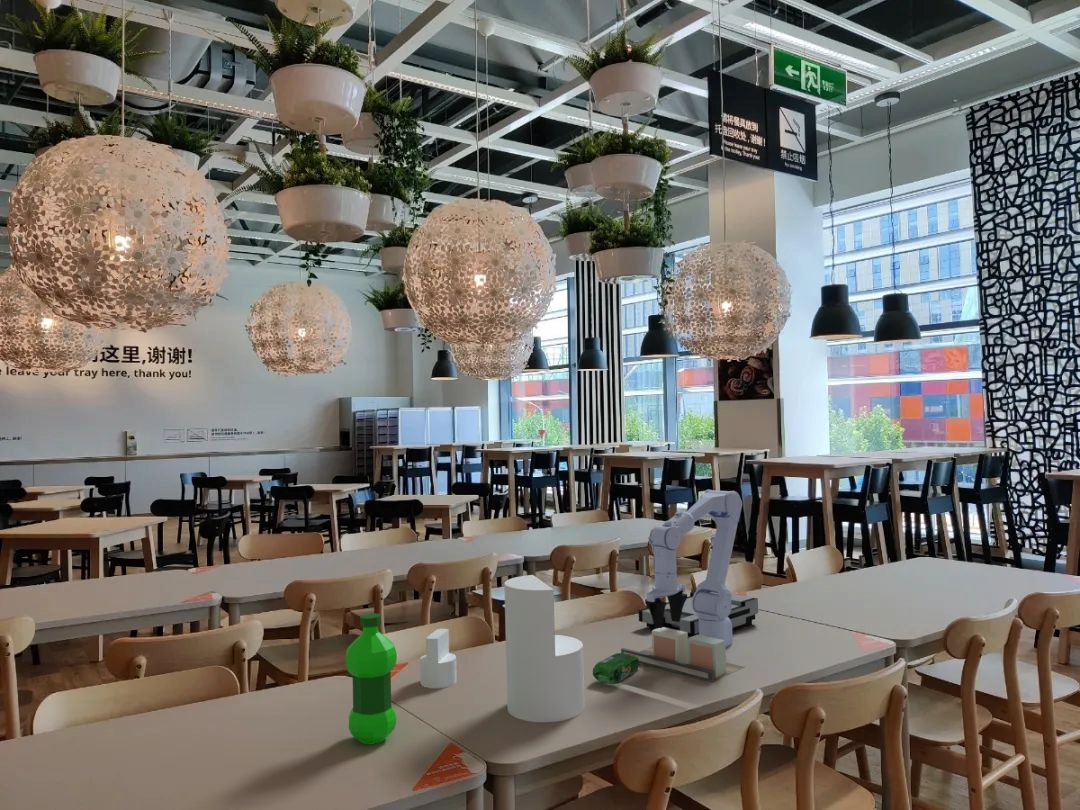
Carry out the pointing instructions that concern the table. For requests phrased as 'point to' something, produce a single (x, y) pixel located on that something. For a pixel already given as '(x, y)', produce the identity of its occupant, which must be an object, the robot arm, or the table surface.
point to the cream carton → (670, 644)
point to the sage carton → (707, 653)
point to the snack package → (616, 668)
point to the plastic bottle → (371, 682)
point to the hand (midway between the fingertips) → (667, 624)
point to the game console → (689, 622)
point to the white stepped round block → (540, 656)
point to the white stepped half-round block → (438, 661)
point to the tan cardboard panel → (679, 665)
